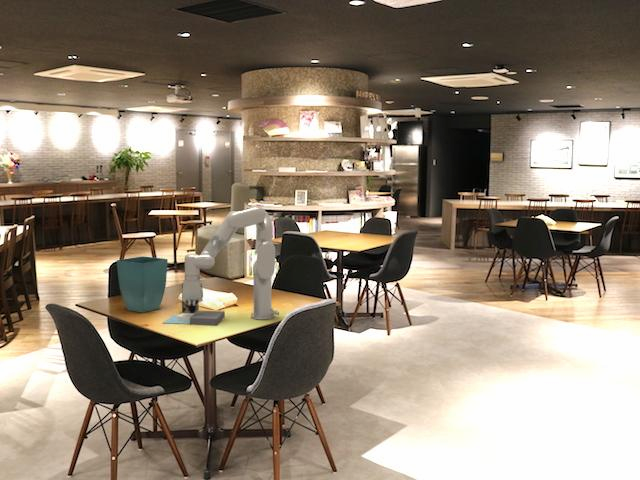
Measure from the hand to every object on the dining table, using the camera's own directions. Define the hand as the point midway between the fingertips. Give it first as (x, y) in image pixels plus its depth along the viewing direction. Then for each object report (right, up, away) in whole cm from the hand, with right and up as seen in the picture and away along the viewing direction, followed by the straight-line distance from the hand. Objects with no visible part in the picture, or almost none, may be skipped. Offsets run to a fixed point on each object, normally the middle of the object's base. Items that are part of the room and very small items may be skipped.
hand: (192, 312), depth 330 cm
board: (+8, -4, 0) cm, 9 cm away
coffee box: (-5, -2, +18) cm, 18 cm away
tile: (-3, -4, +1) cm, 5 cm away
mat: (-6, -4, +1) cm, 8 cm away
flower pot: (-32, -1, +23) cm, 40 cm away
